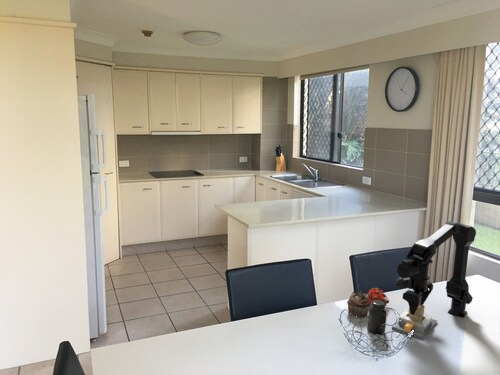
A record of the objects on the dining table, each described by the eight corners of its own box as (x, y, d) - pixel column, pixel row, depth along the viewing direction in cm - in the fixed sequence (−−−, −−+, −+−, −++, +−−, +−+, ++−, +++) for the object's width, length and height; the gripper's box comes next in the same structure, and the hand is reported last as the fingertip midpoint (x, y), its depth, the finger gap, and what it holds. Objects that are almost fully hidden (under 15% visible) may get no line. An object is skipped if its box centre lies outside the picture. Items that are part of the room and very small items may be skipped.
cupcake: (374, 315, 181) (376, 293, 179) (358, 321, 176) (360, 298, 174) (357, 306, 189) (358, 285, 187) (341, 311, 183) (343, 290, 182)
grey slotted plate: (407, 313, 184) (408, 304, 183) (436, 322, 176) (437, 313, 176) (391, 328, 170) (392, 319, 169) (422, 339, 163) (423, 329, 162)
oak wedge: (410, 320, 176) (412, 302, 174) (422, 324, 173) (424, 305, 171) (407, 322, 173) (409, 304, 172) (420, 327, 170) (422, 308, 169)
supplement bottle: (386, 336, 164) (388, 307, 162) (367, 334, 165) (370, 305, 163) (384, 328, 171) (386, 299, 169) (366, 325, 172) (368, 297, 170)
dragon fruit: (369, 302, 197) (384, 317, 186) (358, 294, 194) (372, 309, 183) (381, 288, 197) (396, 303, 186) (370, 280, 193) (385, 294, 182)
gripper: (408, 263, 181) (404, 297, 184) (391, 275, 167) (387, 312, 170) (435, 270, 175) (431, 305, 177) (420, 282, 160) (416, 321, 163)
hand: (416, 310), depth 172 cm, fingers open, 9 cm apart
